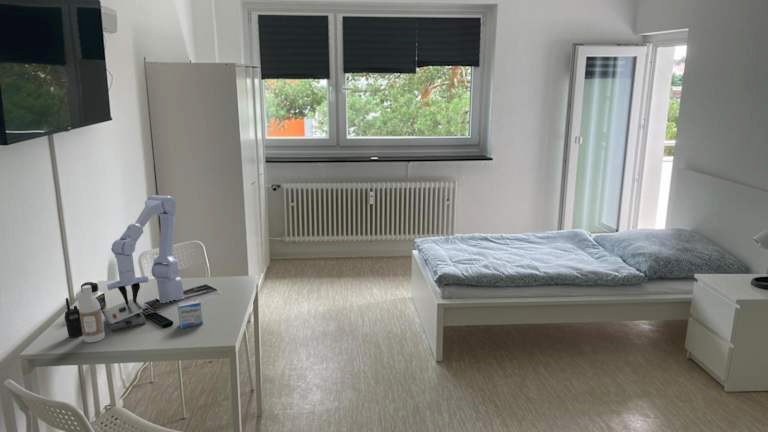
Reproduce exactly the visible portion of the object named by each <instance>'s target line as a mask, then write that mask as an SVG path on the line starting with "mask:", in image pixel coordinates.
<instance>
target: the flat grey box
mask: <svg viewBox="0 0 768 432" xmlns="http://www.w3.org/2000/svg"><path fill="white" fill-rule="evenodd" d="M103 318H104V319H103V320H104V322H105V323H106V325H107V327H108V330H110V332H111V333H115V332H120V331H123V330H127V329H132V328H135V327H139V326H144V325H146V323H147V322H146V317H145V315H144V314H143V312H140V313H137V314H135V315H132V316H130V317H127V318H125V319H123V320H120V321H118V322H115V323H113V324H111V325H109V324H108V322H107V320H106V318H105V317H104V316H103Z"/></svg>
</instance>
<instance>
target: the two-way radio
mask: <svg viewBox="0 0 768 432" xmlns="http://www.w3.org/2000/svg"><path fill="white" fill-rule="evenodd" d="M65 304H66V311H65V313H64V323H65V324H66V331H67V335H68V337H69V338H71V339H72V338H76V337H80V336H83V332H82V326H81V320H80V314H79V308H78V305H73V308H72V307H71V305H70V301H69V298H68V297H66V298H65Z"/></svg>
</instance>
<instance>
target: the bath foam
mask: <svg viewBox="0 0 768 432" xmlns="http://www.w3.org/2000/svg"><path fill="white" fill-rule="evenodd" d="M82 292H83V298H82V300H81V302H80V305H78V309H79V314H80V320H81V326H82V332H83V335H82V337H83V338H82V339H83V342H85V343H89V344H90V343H96V342H100V341H102V340H103V339H104V338H105V337H106V333H105V332H106V331H105V327H104V321H103V320H104V319H103V313H102V311H101V306H100V303H99V302H98V300H97V299H96V298H95V297H94V296H93V295H92V289H91V286H90V285H86V286H83V287H82V290H81V293H82Z"/></svg>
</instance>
